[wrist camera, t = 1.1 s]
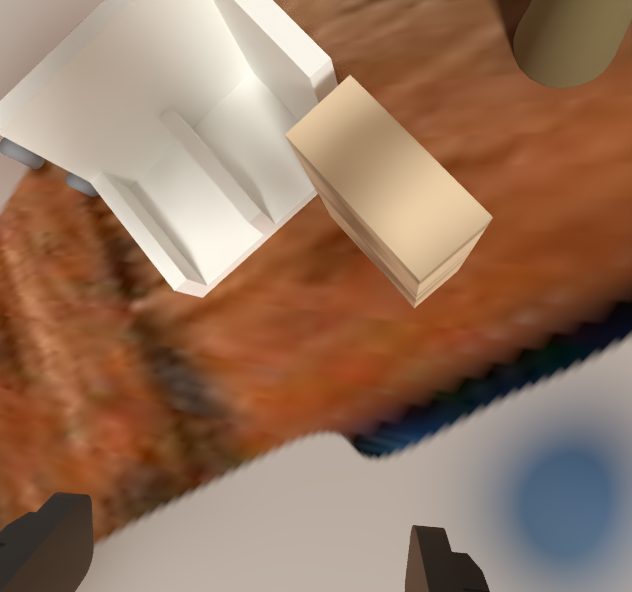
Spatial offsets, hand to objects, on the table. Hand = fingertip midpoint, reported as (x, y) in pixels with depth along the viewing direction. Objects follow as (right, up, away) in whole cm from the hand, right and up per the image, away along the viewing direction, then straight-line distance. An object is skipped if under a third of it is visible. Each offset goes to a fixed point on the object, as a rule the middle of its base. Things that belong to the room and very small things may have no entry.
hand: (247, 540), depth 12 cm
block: (+6, +9, +18) cm, 22 cm away
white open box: (-4, +14, +21) cm, 25 cm away
